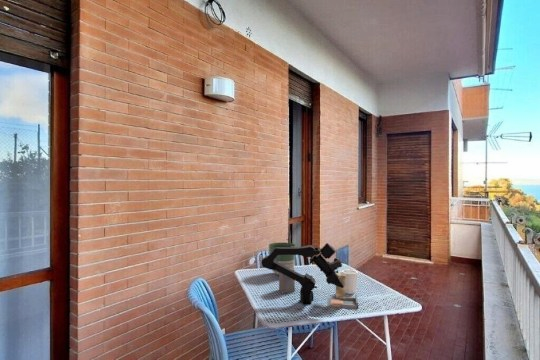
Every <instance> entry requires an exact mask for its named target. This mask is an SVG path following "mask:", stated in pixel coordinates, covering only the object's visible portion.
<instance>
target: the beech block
mask: <svg viewBox="0 0 540 360" xmlns="http://www.w3.org/2000/svg"><path fill="white" fill-rule="evenodd" d="M336 274H337V275H338V279H339V280H340V282H341V283H342V285H343V286H344V287H343V288H341V287H338V286H336V285H335V299H340V298H344V299H345V297H346V293H345V273H342V272H338V273H336Z"/></svg>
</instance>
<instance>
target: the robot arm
mask: <svg viewBox="0 0 540 360" xmlns="http://www.w3.org/2000/svg"><path fill="white" fill-rule="evenodd" d="M336 253H337V250H336V249H335V248H334V247H333V246H332V245H331V244H330V243H328V242H326V243H325V244H324V245H323V246H322V247H320V248H319V247H316V246H314V245H312V244H309V245H303V246H299V247H298V246H296V247H276V248H275V249H274V251H273V252H272V253H271V254H270V255H269V254H268V255H265V256H264V257H263V258H262V260H261V263H260V264H261V266H262V267H263V268H264V269H267V270H271V271H273V270H276V271H278V272H280V273H282V274H284V275H286V276H288V277H289V278H291V279H293V280H295V282H297V283H298V284H300V286H301V287H300V291H299V300H298V302H299V303H301V304H302V305H304V306H306V305H311V304H312V302H314V292H313V290H314V289H315V287H316V282H317V281H316V279H315V278H314V277H313V275H311V274H309V273H306V272H305V274H301V273H299V272H297V271H296V270H294V271H293V270H291V269H290V268H288V267H286V266H284V265H282V264H280V263H278V261H277V260H276V259H275V258H276V257H277V256H278V255H295V256H302V257H305V258H309V265H311V264H313V263H314V264H315V266H317V268H318V269H319V271H320V272H322V273H323V274H324V275H325V277H326V283H327V284H328V285H330V284H332V285H334V286H335V287H336V286H338V287H341V288H343V287H344V286H343V285H342V283H341V282H340V280H339V279H338V275H337V274H336V273H339V270H338V269H339V268H342V267H343V263H342V261H341V259H340V258H339V259H338V258H337V257H335V258H333V261H331V262H330V261H327V259H330V258H331V257H332V256H333V255H335V254H336Z"/></svg>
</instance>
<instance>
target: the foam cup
mask: <svg viewBox="0 0 540 360" xmlns="http://www.w3.org/2000/svg"><path fill="white" fill-rule="evenodd" d="M341 273H345V294H351V295H352V294H356V292H357V282H358V276H359V272H358V271H357V270H356V269H342V270H341Z"/></svg>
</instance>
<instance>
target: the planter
mask: <svg viewBox="0 0 540 360" xmlns="http://www.w3.org/2000/svg"><path fill="white" fill-rule="evenodd" d="M276 247H297V246H296V244H295V243H292V242H272V243H270V244H268V255H270V254H271V253H272V252H273V251H274V249H275V248H276ZM275 259H276V260H277V261H278V263H280V264H282V265H284V266H286V267H293V268H294V269H295V264H296V262H295V261H296V255H278V256H277V257H276V258H275ZM272 272H273V273H274V274H276V275H277V276H279V272H278V271H276V270H272Z"/></svg>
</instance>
